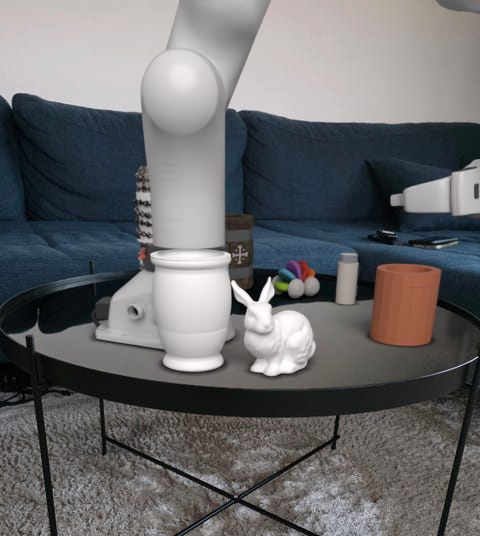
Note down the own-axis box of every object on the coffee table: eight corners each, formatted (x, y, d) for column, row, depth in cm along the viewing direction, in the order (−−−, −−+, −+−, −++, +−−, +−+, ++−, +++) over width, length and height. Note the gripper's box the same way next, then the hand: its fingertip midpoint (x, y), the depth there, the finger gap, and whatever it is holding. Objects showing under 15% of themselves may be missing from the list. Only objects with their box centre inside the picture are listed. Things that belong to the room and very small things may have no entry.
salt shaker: (334, 304, 118) (337, 255, 115) (336, 299, 122) (339, 252, 118) (354, 305, 118) (358, 256, 114) (355, 301, 121) (360, 253, 117)
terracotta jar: (368, 343, 93) (375, 272, 88) (371, 328, 101) (378, 262, 97) (432, 348, 91) (442, 275, 86) (429, 332, 99) (439, 265, 95)
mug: (247, 279, 142) (248, 213, 136) (260, 290, 130) (261, 218, 124) (165, 281, 139) (162, 213, 133) (170, 293, 127) (167, 219, 121)
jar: (140, 368, 81) (133, 255, 75) (181, 349, 89) (178, 245, 83) (207, 380, 76) (205, 261, 70) (244, 359, 85) (245, 251, 79)
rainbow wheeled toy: (325, 296, 125) (327, 261, 122) (289, 301, 120) (290, 265, 117) (299, 289, 131) (301, 255, 128) (264, 294, 126) (265, 259, 123)
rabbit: (262, 383, 76) (264, 289, 71) (219, 365, 82) (218, 277, 78) (329, 366, 82) (335, 278, 78) (284, 350, 89) (288, 268, 84)
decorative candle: (186, 305, 116) (182, 166, 106) (138, 306, 115) (130, 165, 105) (183, 295, 125) (179, 165, 114) (138, 296, 123) (131, 165, 113)
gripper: (512, 161, 99) (435, 172, 109) (456, 172, 87) (374, 183, 96) (511, 201, 102) (435, 208, 111) (456, 217, 89) (376, 224, 98)
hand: (406, 197), depth 104 cm, fingers open, 8 cm apart
